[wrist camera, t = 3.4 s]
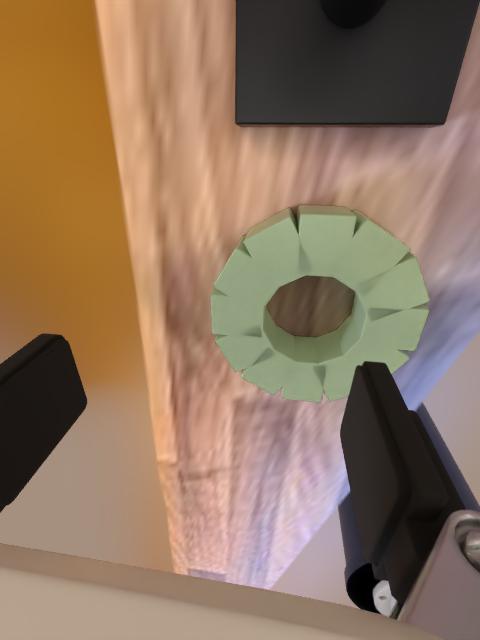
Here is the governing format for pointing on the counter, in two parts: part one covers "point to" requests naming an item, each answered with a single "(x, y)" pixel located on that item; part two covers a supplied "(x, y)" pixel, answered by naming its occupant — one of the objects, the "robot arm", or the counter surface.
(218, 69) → the counter surface
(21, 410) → the robot arm
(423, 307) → the ring
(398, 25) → the post
